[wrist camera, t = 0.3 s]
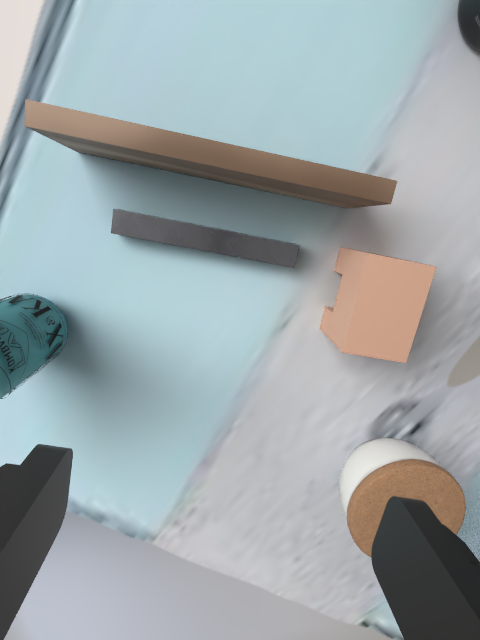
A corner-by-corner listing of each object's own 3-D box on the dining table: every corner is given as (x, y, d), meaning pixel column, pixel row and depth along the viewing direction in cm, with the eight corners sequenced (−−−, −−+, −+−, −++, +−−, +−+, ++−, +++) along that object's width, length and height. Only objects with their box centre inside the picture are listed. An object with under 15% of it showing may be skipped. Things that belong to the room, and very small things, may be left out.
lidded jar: (434, 482, 43) (492, 552, 34) (346, 519, 43) (380, 598, 34) (404, 404, 40) (459, 458, 31) (311, 445, 40) (338, 509, 31)
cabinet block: (340, 247, 35) (368, 253, 29) (395, 258, 36) (436, 266, 29) (319, 328, 37) (342, 352, 30) (372, 337, 38) (406, 363, 31)
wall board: (78, 132, 32) (25, 99, 23) (351, 191, 34) (397, 180, 25) (77, 151, 32) (24, 125, 23) (347, 208, 34) (391, 203, 26)
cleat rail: (119, 209, 33) (113, 208, 31) (295, 243, 35) (299, 245, 33) (117, 232, 34) (110, 233, 32) (290, 265, 35) (294, 267, 34)
